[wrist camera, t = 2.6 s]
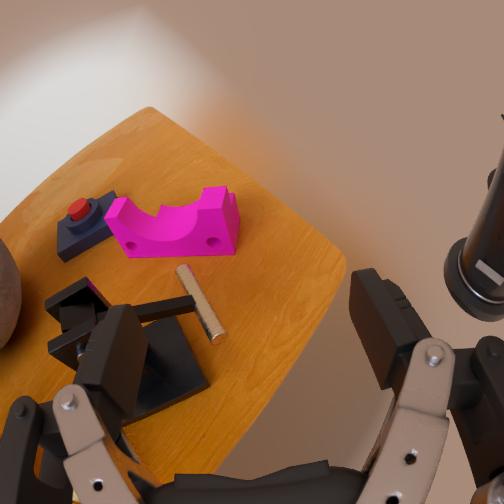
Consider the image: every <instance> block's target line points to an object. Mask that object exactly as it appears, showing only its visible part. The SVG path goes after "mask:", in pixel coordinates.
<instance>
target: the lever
mask: <svg viewBox="0 0 504 504" xmlns="http://www.w3.org/2000/svg"><path fill="white" fill-rule="evenodd" d="M175 273H176V275H177V277H178V279H179V281H180V283H181V285H182V288H183V290H184V292H185V294H186V296H182V297H177V298H172V299H167V300H162V301H157V302H152V303H147V304H141V305H136V306H132V307H133V309H134V311H135V313H136V315H137V317H138V319H139V321H140V323H144V322H149V321H154V320H158V319H163V318H168V317H172V316H177V315H181V314H185V313H190V312H194V311H195V313H196V315H197V317H198V319H199V321H200V323H201V325H202V327H203V329H204V331H205V333H206V334H207V336H208V338H209V340H210V342H211V343H212V344H213V345H217V344H220V343H222V342H224V341H225V340H226V339H227V338H228V334H227V332H226V330H225V328H224V327H223V325H222V323H221V322H220V320H219V318H218V316H217V315H216V313H215V311H214V309H213V308H212V306H211V304H210V302H209V301H208V299H207V297H206V295H205V293H204V292H203V290H202V288H201V286H200V284H199V283H198V281H197V279H196V277H195V275H194V273H193V272H192V270H191V268H190V266H189V265H187V264H182V265H180V266H178V267H177V269H176V271H175ZM59 312H60V322H61V330H62V333H65V332H67V331H69V330H70V329H72V328H74V327H76V326H78V325H80V324H81V323H83V322H85V321H87V320H89V319H91V318H94V319H95V320H96V321H98V322H100V321H101V320H104V319H105V317H106V314H107V312H108V311H104V312H99V313H96V314H95V310H94V305H93V302H88V303H82V304H76V305H70V306H64V307H59Z"/></svg>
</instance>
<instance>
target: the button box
mask: <svg viewBox="0 0 504 504" xmlns="http://www.w3.org/2000/svg"><path fill="white" fill-rule="evenodd" d="M115 198H117V196H116V194H115V192H114V190H113V191H111V192H109V193H107V194H106V195H104V196H102V197H100V198H98V199H93V198H89V199H86V200H87V202H88V204H89V205H90V207H91V210H90V211H89V213H88V214H87V215H86V216H85V217H84V218H82V219H80V220H78V221H73V219H72V218H71V216H70V215H69V213H68V214H67V216H66V217H65V218H64V219H62V220H61V221H59V222H58V230H57V254H58V256H59V257H60V258H61V259H62V260H63V262H64V263H65V262H66V261H68V260H70V259H72V258H73V257H75V256H77V255H78V254H80V253H82V252H83V251H85V250H87V249H89V248H90V247H92V246H94V245H96V244H97V243H99V242H101V241H103V240H105V239H106V238H108V237H110V236H112V235H114V234H113V233H112V231H111V229H110V228H109V226H108V225H107V223H106V221H105V220H104V217H105V216H106V214H107V212H108V210H109V208H110V207H111V205H112V203H113V201H114V200H115Z"/></svg>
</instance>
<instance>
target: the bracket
mask: <svg viewBox="0 0 504 504" xmlns="http://www.w3.org/2000/svg"><path fill="white" fill-rule="evenodd" d="M88 302H93V305H94V310H95V314H96V313H99V312H104V311H108V309H109V307H110V306H112V305H111V304H110V303H109V302H108V301H107V300H106V299H105V297H104V296H103V295H102V294H101V293H100V292H99V291H98V290H97V288H96V287H95V286H94V285H93V284H92V283H91V282H90V280H89V279H88V278H87V277H84V278H82V279H80V280H79V281H77V282H75V283H73V284H72V285H70V286H68V287H67V288H65V289H63V290H62V291H60V292H58V293H56V294H55V295H53V296H51V297H50V298H48V299H46V300H45V310H46V311H47V312H48V313H49V314H50V315H51V316H53V317H54V318H55V319H56V320H57V321H58V322H59V323H61V322H60V312H59V307H64V306H70V305H76V304H82V303H88ZM98 323H99V322H98V321H96V320H95V319H94V318H91V319H89V320H87V321H85V322H83V323H81V324H80V325H78V326H76V327H74V328H72V329H70V330H69V331H67V332H65V333H63V334H61V335H60V336H58V337H56V338H54V339H52V340H50V341H49V342H48V343H47V344H48V353H49V354H50V355H52V356H53V357H55V358H56V359H58V360H59V361H61V362H62V363H64V364H65V365H67V366H68V367H70V368H71V369H73V370H75V371H76V372H77V369H78V367H79V364H80V361H81V359H82V356H83V353H84V352H85V348H86V345H87V343H89V342H88V340H89V338H90V335H91V333H92V331H93V329H94V328H95V327H96V326H97V324H98ZM143 329H144V331H145V333H146V336H147V343H148V346H147V352H146V357H145V361H144V366H143V371H142V376H141V381H140V386H139V391H138V396H137V402H136V407H135V413H134V419H133V421H131V420H122V423H121V427H124V426H126V425H129V424H131V423H134V422H136V421H138V420H141V419H143V418H145V417H148V416H150V415H152V414H154V413H157V412H159V411H161V410H163V409H165V408H168V407H170V406H172V405H174V404H176V403H178V402H180V401H182V400H185V399H187V398H189V397H191V396H193V395H195V394H197V393H199V392H201V391H203V390H205V389H207V388H209V387H210V384H209V382H208V380H207V378H206V376H205V374H204V372H203V370H202V369H201V367H200V365H199V363H198V361H197V359H196V357H195V355H194V353H193V351H192V349H191V347H190V344H189V342H188V340H187V338H186V336H185V334H184V332H183V330H182V328H181V326H180V323H179V321H178V319H177V317H176V316H172V317H168V318H163V319H158V320H156V321H154V322H152V323H150V324H148V325H147V326H145V327H143Z"/></svg>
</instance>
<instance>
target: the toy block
mask: <svg viewBox="0 0 504 504" xmlns="http://www.w3.org/2000/svg"><path fill="white" fill-rule="evenodd" d="M104 220H105V221H106V223H107V225H108V226H109V228H110V229H111V231H112V233H113V234H114V236H115V237H116V239H117V241H118V242H119V244H120V245H121V247H122V248H123V250H124V252H125V253H126V255H127V256H128V258H139V257H174V256H209V255H235V250H236V243H237V237H238V230H239V224H240V216H239V211H238V207H237V203H236V198H235V194H234V193H228V189H227V186H219V187H207V188H204V189H203V192H202V195H201V198H200V199H199V200H197V201H196V202H194V203H192V204H190V205H187V206H182V207H169V206H164V205H161V208H160V210H159V212H158V215H157V217H153V216H151V215H149V214H147V213H145V212H143V211H142V210H140V209H139V208H138V207H136V206H135V205H134V204H133V203H132V202H131V200H130V199H129V198H128V197H122V198H115V200H114V201H113V203H112V205H111V207H110V208H109V210H108V212H107V214H106V216H105V217H104Z"/></svg>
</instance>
